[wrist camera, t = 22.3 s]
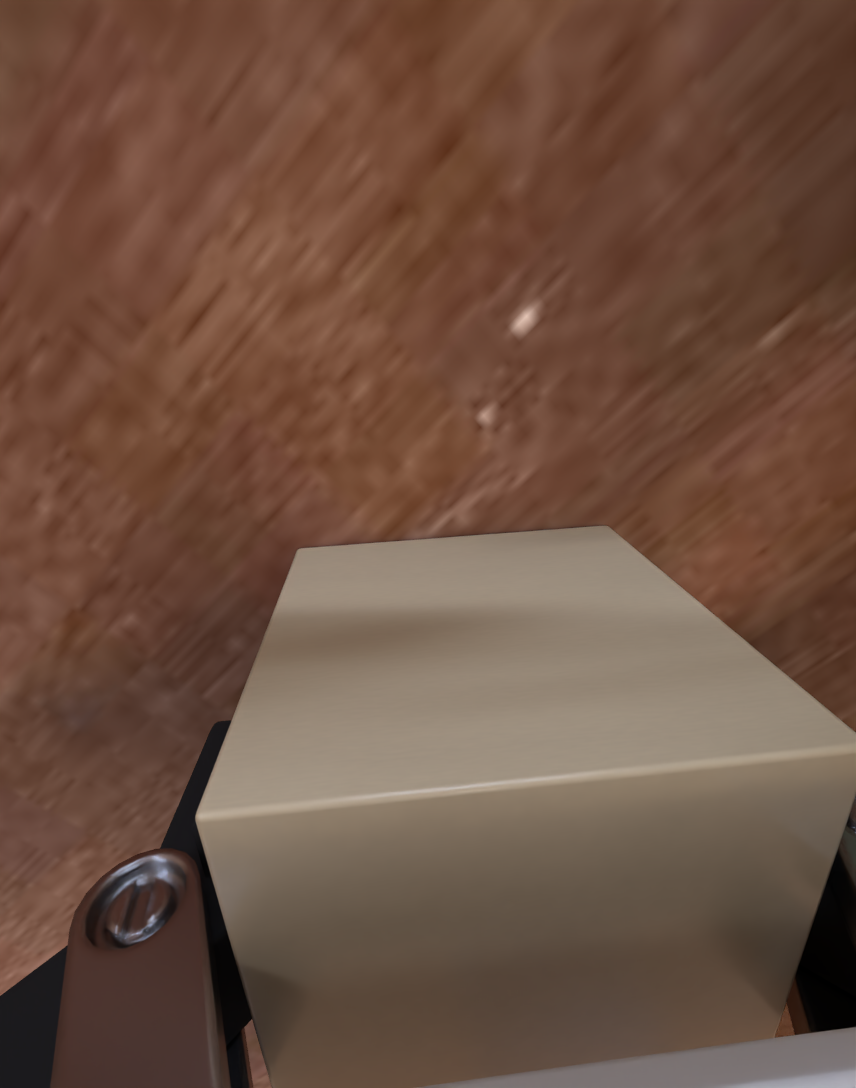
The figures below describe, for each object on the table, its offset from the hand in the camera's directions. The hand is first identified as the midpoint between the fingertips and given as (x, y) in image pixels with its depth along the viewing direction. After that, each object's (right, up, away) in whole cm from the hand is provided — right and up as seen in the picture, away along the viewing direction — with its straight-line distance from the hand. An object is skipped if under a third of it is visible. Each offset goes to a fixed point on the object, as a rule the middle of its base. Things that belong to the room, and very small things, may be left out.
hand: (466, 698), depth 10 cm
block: (0, 0, +1) cm, 1 cm away
